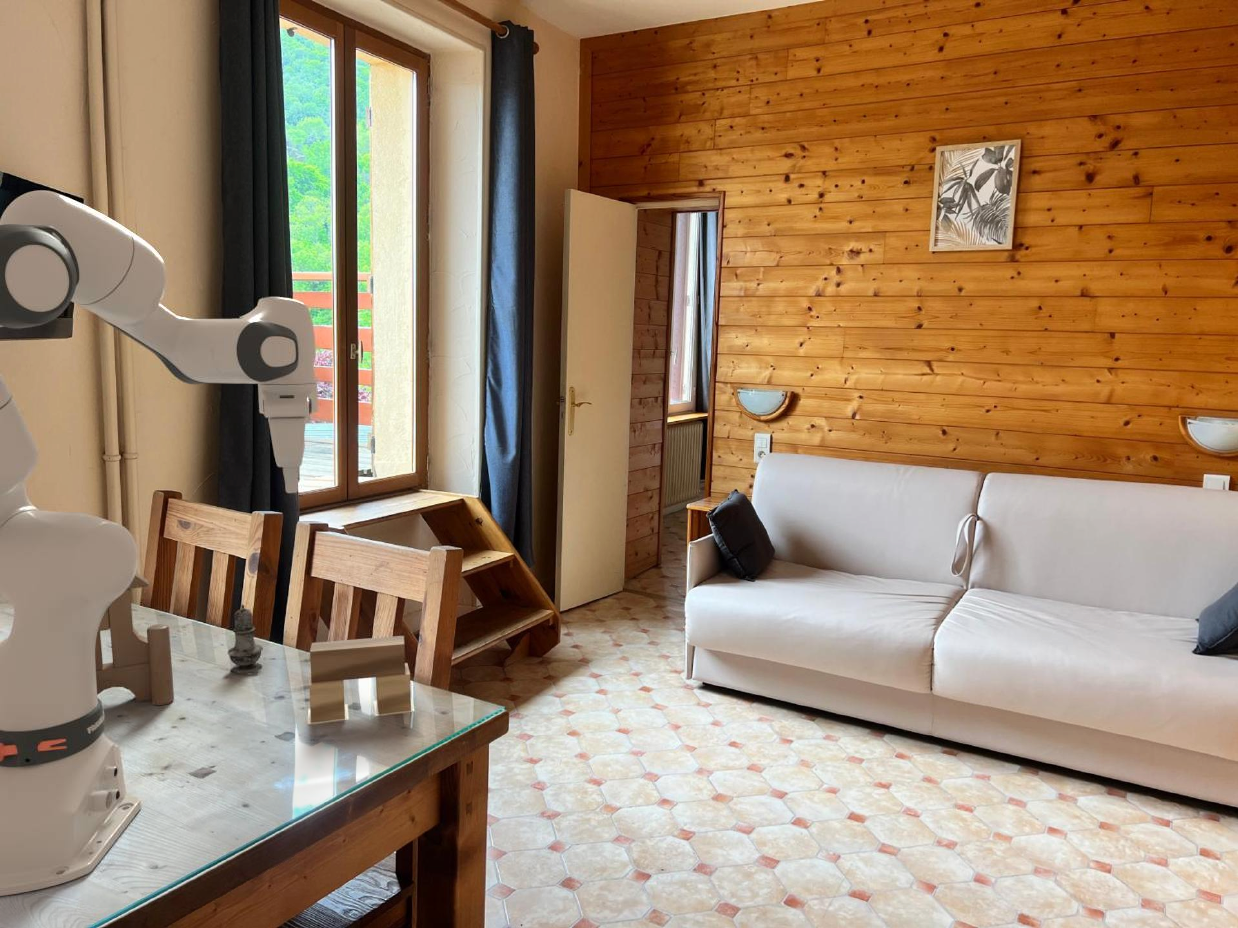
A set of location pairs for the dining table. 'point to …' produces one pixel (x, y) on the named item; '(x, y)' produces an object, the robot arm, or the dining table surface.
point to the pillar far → (394, 693)
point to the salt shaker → (244, 645)
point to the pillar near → (326, 700)
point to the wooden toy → (135, 653)
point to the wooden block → (357, 659)
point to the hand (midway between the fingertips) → (293, 487)
